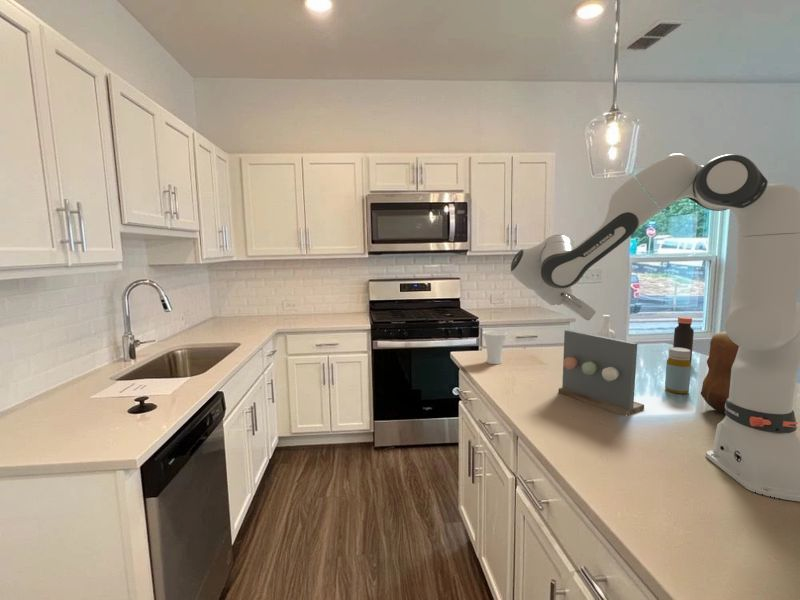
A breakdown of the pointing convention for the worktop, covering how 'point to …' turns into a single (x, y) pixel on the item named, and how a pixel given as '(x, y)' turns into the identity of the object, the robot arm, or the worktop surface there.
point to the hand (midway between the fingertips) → (589, 315)
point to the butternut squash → (719, 371)
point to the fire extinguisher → (606, 328)
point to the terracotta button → (570, 363)
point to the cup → (494, 345)
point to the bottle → (678, 370)
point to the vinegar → (684, 334)
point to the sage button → (589, 368)
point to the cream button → (610, 373)
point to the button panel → (594, 386)
